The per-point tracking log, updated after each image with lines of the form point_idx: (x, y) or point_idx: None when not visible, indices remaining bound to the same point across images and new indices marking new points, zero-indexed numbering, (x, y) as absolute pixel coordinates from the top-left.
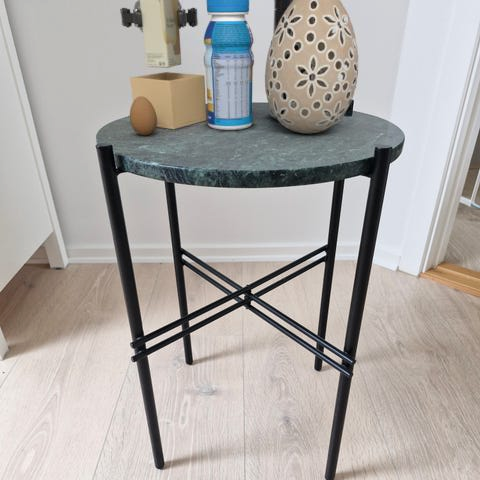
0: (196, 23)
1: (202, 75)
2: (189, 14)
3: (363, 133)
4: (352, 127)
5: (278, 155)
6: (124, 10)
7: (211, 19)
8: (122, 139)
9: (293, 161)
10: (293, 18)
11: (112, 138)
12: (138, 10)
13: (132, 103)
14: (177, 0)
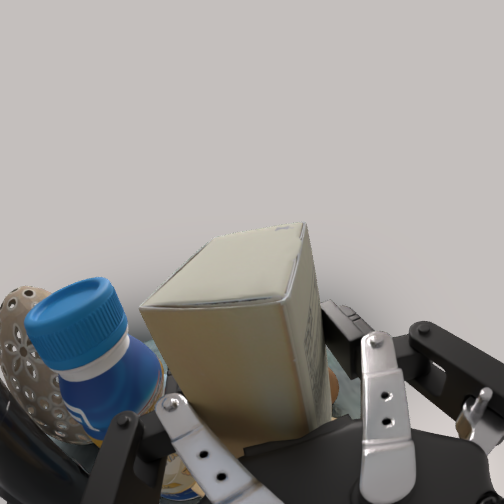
0: (134, 462)
1: (195, 485)
2: (148, 417)
3: (57, 415)
4: (49, 436)
5: (160, 360)
6: (419, 324)
7: (126, 341)
8: (343, 381)
9: (155, 349)
10: (21, 343)
11: (360, 381)
12: (339, 315)
13: (328, 367)
14: (173, 373)
